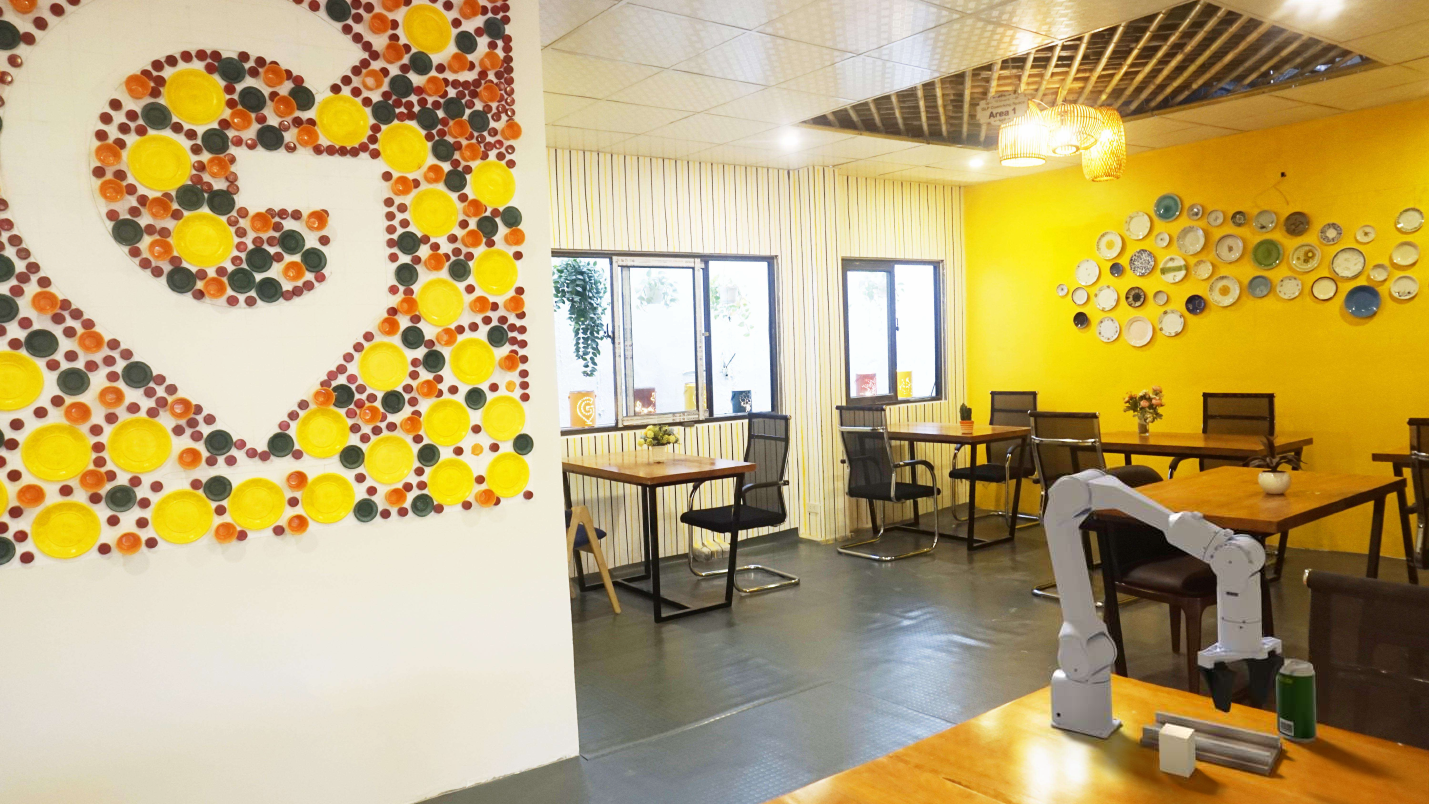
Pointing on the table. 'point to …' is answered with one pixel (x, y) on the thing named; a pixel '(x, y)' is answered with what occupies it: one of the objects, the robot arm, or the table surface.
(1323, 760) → the table surface
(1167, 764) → the cream block
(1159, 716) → the track
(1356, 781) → the table surface
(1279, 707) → the beer can
